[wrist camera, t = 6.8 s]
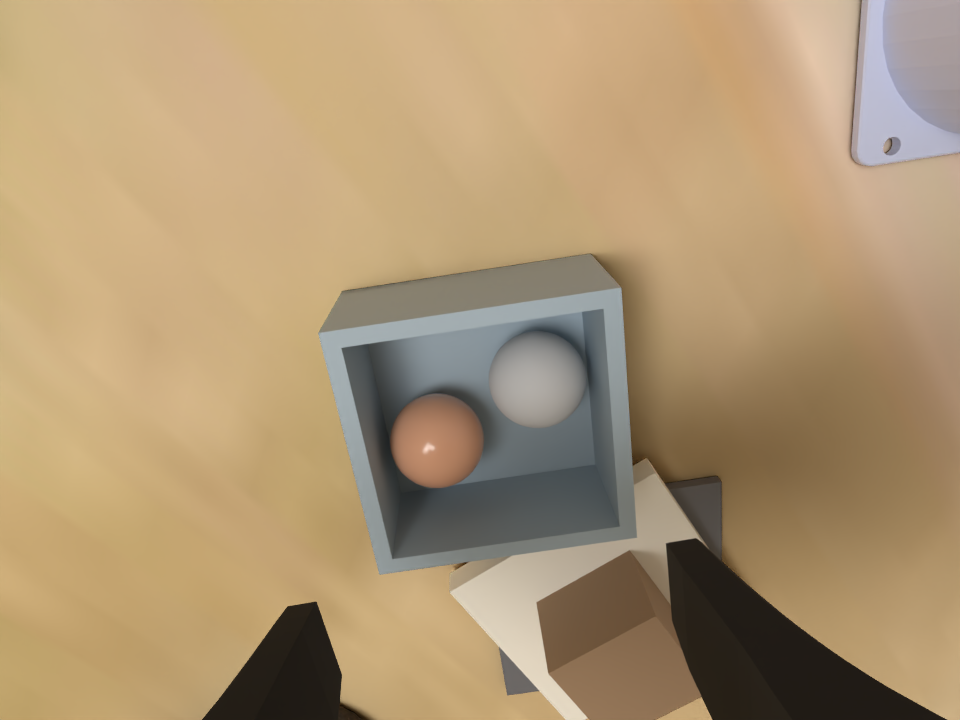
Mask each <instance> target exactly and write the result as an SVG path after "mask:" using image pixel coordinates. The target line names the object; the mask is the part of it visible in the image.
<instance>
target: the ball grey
mask: <svg viewBox="0 0 960 720" xmlns="http://www.w3.org/2000/svg"><path fill="white" fill-rule="evenodd" d="M489 388H490V392H491V395H492V398H493V400H494V402H495V404H496V406H497V407H498V408H499V410H500V411H501V412H502V413H503V414H504V415H505V416H506V417H507V418H509V419H510V420H511V421H513V422H515V423H517V424H519V425H522V426H525V427H530V428H546V427H551V426H554V425H556V424H558V423H561V422H562V421H564V420H565V419H567V418H568V417H569V416H570V415H571V414H572V413H573V412H574V411H575V410H576V409H577V408H578V406H579V404H580V403H581V401H582V398H583V396H584V393H585V389H586V371H585V367H584V364H583V361H582V359H581V357H580V355H579V354H578V352H577V351H576V349H575V348H574V347H573V346H572V345H571V344H570V343H569V342H568V341H566V340H565V339H563V338H562V337H560V336H558V335H556V334H553V333H549V332H544V331H531V332H526V333H522V334H519V335H517V336H515V337H513V338H512V339H510V340H509V341H507V342H506V343H505V344H504V345H503V346H502V347H501V348H500V349H499V350H498V352H497V353H496V355H495V357H494V359H493V361H492V364H491V367H490V371H489Z"/></svg>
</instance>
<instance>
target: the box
mask: <svg viewBox="0 0 960 720" xmlns="http://www.w3.org/2000/svg"><path fill="white" fill-rule="evenodd" d="M531 331H544V332H549V333H553V334H556V335H558V336H560V337H562V338H563V339H565V340H566V341H568V342H569V343H570V344H571V345H572V346H573V347H574V348H575V349H576V351H577V352H578V354H579V355H580V357H581V359H582V361H583V364H584V367H585V371H586V389H585V393H584V396H583V398H582V401H581V403H580V404H579V406H578V408H577V409H576V410H575V411H574V412H573V413H572V414H571V415H570V416H569V417H568V418H567V419H565V420H564V421H562V422H561V423H558V424H556V425H554V426H551V427H546V428H530V427H525V426H522V425H519V424H517V423H515V422H513V421H511V420H510V419H509V418H507V417H506V416H505V415H504V414H503V413H502V412H501V411H500V410H499V408H498V407H497V406H496V404H495V402H494V400H493V398H492V395H491V392H490V388H489V371H490V367H491V364H492V361H493V359H494V357H495V355H496V353H497V352H498V350H499V349H500V348H501V347H502V346H503V345H504V344H505V343H506V342H507V341H509V340H510V339H512V338H513V337H515V336H517V335H519V334H522V333H526V332H531ZM318 334H319V338H320V342H321V346H322V350H323V354H324V358H325V361H326V365H327V369H328V373H329V377H330V381H331V385H332V389H333V393H334V397H335V401H336V405H337V409H338V413H339V417H340V421H341V425H342V429H343V433H344V436H345V440H346V444H347V448H348V452H349V456H350V460H351V464H352V468H353V472H354V476H355V480H356V484H357V488H358V492H359V496H360V500H361V504H362V508H363V511H364V515H365V519H366V523H367V527H368V531H369V535H370V539H371V543H372V547H373V551H374V555H375V559H376V563H377V567H378V571H379V575H381V574H388V573H395V572H402V571H409V570H416V569H423V568H430V567H436V566H443V565H450V564H457V563H464V562H471V561H478V560H485V559H492V558H499V557H506V556H513V555H520V554H527V553H534V552H541V551H548V550H555V549H562V548H569V547H576V546H583V545H589V544H596V543H603V542H610V541H617V540H624V539H631V538H637V529H636V513H635V497H634V481H633V466H632V450H631V434H630V418H629V402H628V386H627V370H626V354H625V338H624V322H623V306H622V290H621V287H620V286H619V284H618V283H617V282H616V281H615V280H614V279H613V278H612V277H611V276H610V275H609V273H608V272H607V271H606V270H605V269H604V268H603V267H602V266H601V265H600V263H599V262H598V261H597V260H596V259H595V258H594V257H593V256H592V255H591V254H585V255H578V256H572V257H565V258H559V259H552V260H545V261H539V262H532V263H525V264H519V265H512V266H506V267H499V268H492V269H486V270H479V271H472V272H466V273H459V274H453V275H446V276H439V277H433V278H426V279H419V280H413V281H406V282H400V283H393V284H386V285H380V286H373V287H366V288H360V289H353V290H347V291H342V292H341V294H340V296H339V298H338V299H337V301H336V303H335V305H334V306H333V308H332V310H331V312H330V313H329V315H328V317H327V319H326V320H325V322H324V324H323V326H322V327H321V329H320V331H319V333H318ZM435 393H438V394H447V395H451V396H454V397H456V398H459V399H460V400H462V401H464V402H465V403H466V404H468V405H469V406H470V407H471V408H472V409H473V411H474V412H475V413H476V415H477V416H478V418H479V420H480V422H481V425H482V428H483V433H484V448H483V453H482V456H481V459H480V461H479V463H478V465H477V466H476V468H475V469H474V470H473V472H472V473H471V474H470V475H469V476H468V477H466V478H465V479H464V480H462V481H461V482H459V483H457V484H455V485H452V486H449V487H445V488H429V487H424V486H421V485H418V484H416V483H414V482H412V481H411V480H410V479H408V478H407V477H406V476H405V475H404V474H403V473H402V472H401V471H400V470H399V468H398V467H397V465H396V463H395V461H394V459H393V457H392V453H391V448H390V434H391V429H392V426H393V423H394V421H395V419H396V417H397V416H398V414H399V413H400V411H401V410H402V409H403V408H404V407H405V406H406V405H407V404H408V403H410V402H411V401H413V400H414V399H416V398H418V397H421V396H424V395H428V394H435Z"/></svg>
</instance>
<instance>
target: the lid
mask: <svg viewBox="0 0 960 720" xmlns="http://www.w3.org/2000/svg"><path fill="white" fill-rule="evenodd" d="M633 481H634V497H635V513H636V529H637V538H631V539H624V540H617V541H610V542H603V543H596V544H589V545H583V546H576V547H569V548H562V549H555V550H548V551H541V552H534V553H527V554H520V555H513V556H506V557H499V558H492V559H485V560H478V561H471V562H468V563H467V564H465V565H463V566H462V567H460V568H458V569H457V570H455V571H453V572H451V573H450V575H449V592H450V593H451V595H452V596H453V597H454V598H455V599H456V600H457V601H458V602H459V603H460V604H461V605H462V607H463V608H464V609H465V610H466V611H467V612H468V613H469V614H470V615H471V616H472V618H473V619H474V620H475V621H476V622H477V623H478V624H479V625H480V626H481V627H482V628H483V630H484V631H485V632H486V633H487V634H488V635H489V636H490V637H491V638H492V639H493V641H494V642H495V643H496V644H497V645H498V646H499V647H500V648H501V649H502V650H503V651H504V653H505V654H506V655H507V656H508V657H509V658H510V659H511V660H512V661H513V662H514V663H515V665H516V666H517V667H518V668H519V669H520V670H521V671H522V672H523V673H524V674H525V676H526V677H527V678H528V679H529V680H530V681H531V682H532V683H533V684H534V685H535V686H536V688H537V689H538V690H539V691H540V692H541V693H542V694H543V695H544V696H545V697H546V699H547V700H548V701H549V702H550V703H551V704H552V705H553V706H554V707H555V708H556V709H557V711H558V712H559V713H560V714H561V715H562V716H563V717H564V718H565V719H566V720H585V719H587V718H588V719H589V720H656V719H658V718H660V717H662V716H664V715H666V714H668V713H670V712H672V711H674V710H676V709H678V708H680V707H682V706H684V705H686V704H688V703H690V702H692V701H694V700H696V699H698V698H700V697H702V696H701V694H700V692H699V690H698V688H697V686H696V684H695V682H694V679H693V677H692V675H691V673H690V671H689V668H688V665H687V663H686V660H685V657H684V654H683V651H682V649H681V646H680V643H679V640H678V637H677V634H676V631H675V628H674V625H673V622H672V614H671V602H670V589H669V577H668V564H667V552H666V543H669V542H675V541H681V540H687V539H693V538H697V539H698V540H699V541H701V542H702V543H703V544H704V545H705V546H706V547H707V545H706V544H705V542H704V541H703V539H702V538H701V536H700V535H699V533H698V532H697V531H696V529H695V528H694V526H693V525H692V523H691V522H690V520H689V519H688V517H687V516H686V514H685V513H684V511H683V510H682V509H681V507H680V506H679V504H678V503H677V501H676V500H675V498H674V497H673V495H672V494H671V492H670V491H669V489H668V488H667V487H666V485H665V484H664V482H663V481H662V479H661V478H660V476H659V475H658V473H657V472H656V470H655V469H654V467H653V466H652V465H651V463H650V462H649V460H648V459H647V458H645V459H644V460H642V461H640V462H639V463H637V464H635V465H633ZM707 548H708V547H707ZM708 549H709V548H708Z"/></svg>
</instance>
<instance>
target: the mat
mask: <svg viewBox="0 0 960 720" xmlns="http://www.w3.org/2000/svg"><path fill="white" fill-rule="evenodd" d="M665 485H666V487H667V488H668V489H669V491H670V492H671V494H672V495H673V497H674V498H675V500H676V501H677V503H678V504H679V506H680V507H681V509H682V510H683V511H684V513H685V514H686V516H687V517H688V519H689V520H690V522H691V523H692V525H693V526H694V528H695V529H696V531H697V532H698V533H699V535H700V536H701V538H702V539H703V541H704V542H705V544H706V545H707V547H708V548H709V550H710V551H711V552H712V553H714V554H715V555H716V556H717V557H718V558H719V559H720V560H721V561H722V501H721V481H720V479H719V478H718V476H714V477H708V478H701V479H694V480H687V481H680V482H673V483H666V484H665ZM499 650H500V656H501V662H502V667H503V673H504V679H505V685H506V690H507V695H513V694H520V693H528V692H535V691H539V690H538V689H537V688H536V686H535V685H534V684H533V683H532V682H531V681H530V680H529V679H528V678H527V677H526V676H525V674H524V673H523V672H522V671H521V670H520V669H519V668H518V667H517V666H516V665H515V663H514V662H513V661H512V660H511V659H510V658H509V657H508V656H507V655H506V654H505V653H504V651H503V650H502V649H501V648H500V647H499Z"/></svg>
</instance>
